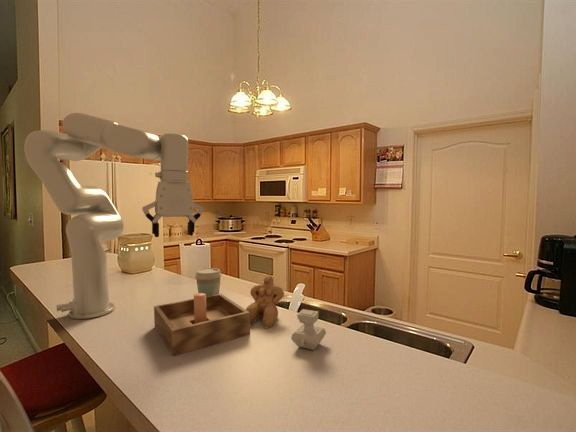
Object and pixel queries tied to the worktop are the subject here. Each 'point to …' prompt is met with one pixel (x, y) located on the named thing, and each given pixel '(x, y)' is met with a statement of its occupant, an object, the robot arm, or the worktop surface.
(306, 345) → the stamp
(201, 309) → the peg
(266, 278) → the figurine
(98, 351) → the worktop surface
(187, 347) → the bore box
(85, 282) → the robot arm
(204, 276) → the coffee cup
